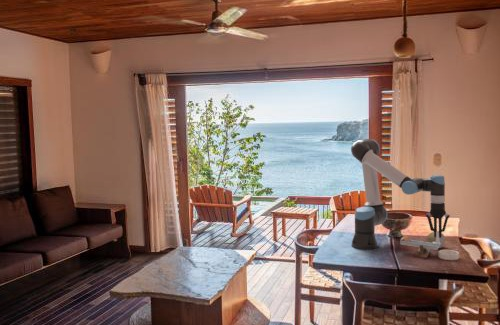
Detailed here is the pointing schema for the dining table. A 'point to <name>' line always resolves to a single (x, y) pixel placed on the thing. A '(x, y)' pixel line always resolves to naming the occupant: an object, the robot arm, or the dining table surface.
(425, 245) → the lever
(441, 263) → the dining table surface
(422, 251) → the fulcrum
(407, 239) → the ball
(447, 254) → the bowl
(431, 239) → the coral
